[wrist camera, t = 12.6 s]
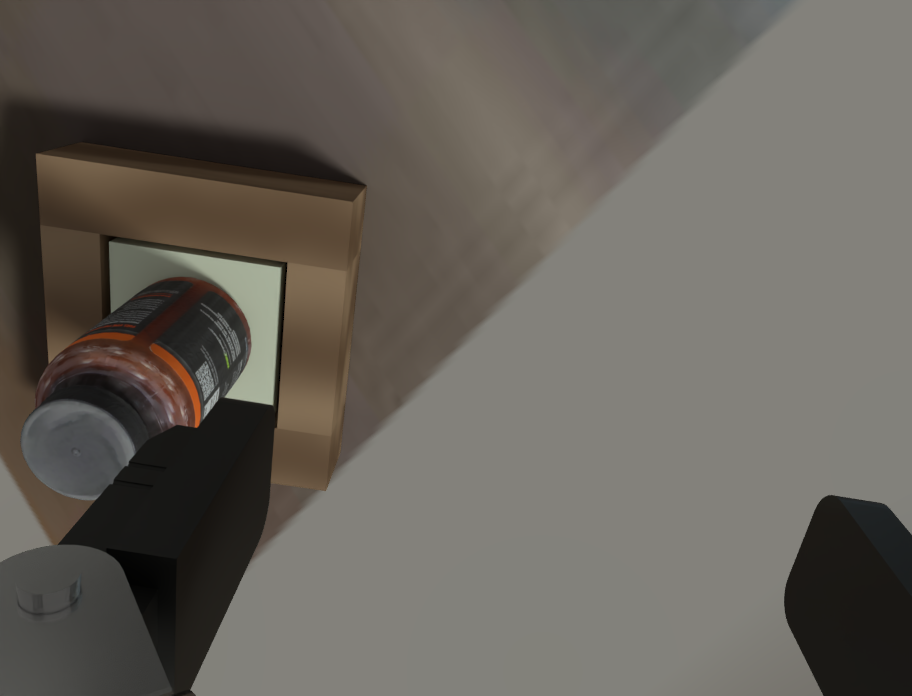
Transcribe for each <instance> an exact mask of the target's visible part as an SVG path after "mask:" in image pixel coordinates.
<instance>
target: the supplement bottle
mask: <svg viewBox="0 0 912 696" xmlns="http://www.w3.org/2000/svg"><path fill="white" fill-rule="evenodd" d="M251 347H252V344H251V333H250V327H249V325H248V322H247V319H246V317H245V315H244V313H243V312H242V310H241V309H240V308H239V306H238V305H237V303H236V302H235V301H234V300H233V299H232V298H231V297H230V296H229V295H228V294H227V293H225V292H224V291H223V290H221V289H220V288H218V287H216V286H214V285H212V284H210V283H208V282H206V281H203V280H199V279H196V278H192V277H172V278H167V279H163V280H160V281H157V282H155V283H153V284H151V285H149V286H148V287H146V288H145V289H143V290H141V291H140V292H138V293H137V294H136V295H135V296H133V297H132V298H131V299H129V300H128V301H127V302H126V303H124V304H123V305H122V306H120V307H119V308H118V309H116V310H115V311H114V312H112V313H111V314H110V315H108V316H107V317H106V318H105V319H103V320H102V321H101V322H99V323H98V324H97V325H95V326H94V327H93V328H91V329H90V330H89V331H87V332H86V333H85V334H83V335H82V336H81V337H79V338H78V339H77V340H75V341H74V342H73V343H72V344H71V345H69V346H68V347H67V348H65V349H64V350H63V351H61V352H60V353H59V354H58V355H57V356H56V357H55V358H54V359H53V360H52V361H51V362H50V363H49V364H48V366H47V367H46V369H45V370H44V372H43V374H42V376H41V378H40V380H39V383H38V386H37V389H36V394H35V410H34V411H33V412H32V413H31V414H30V415H29V416H28V418H27V419H26V421H25V423H24V426H23V429H22V431H21V441H20V442H21V448H22V452H23V456H24V459H25V460H26V462H27V464H28V466H29V467H30V469H31V470H32V472H33V473H34V474H35V476H36V477H37V478H38V479H39V480H40V481H42V482H43V483H44V484H45V485H47V486H48V487H49V488H51V489H53V490H54V491H56V492H58V493H60V494H63V495H65V496H68V497H71V498H76V499H80V500H96V499H97V498H98V497H99V496H100V495H101V493H102V492H103V491H104V490H105V489H106V488H107V486H108V485H109V484H113V480H114V478H115V477H116V476H117V475H118V474H119V472H120V471H121V470H122V469H123V468H124V467H125V466H128V464H129V461H130V459H131V458H132V457H133V456H134V455H135V454H136V452H137V451H138V450H139V449H140V448H141V447H142V445H143V444H144V443H145V442H146V441H147V440H149V439H150V438H152V437H154V436H156V435H158V434H160V433H162V432H164V431H166V430H168V429H170V428H171V427H173V426H175V425H183V426H189V427H195V428H197V427H198V426H199V424H200V423H201V422H202V421H203V419H204V418H205V417H206V415H207V414H208V413H209V411H210V410H211V409H212V407H213V406H214V405H215V403H216V402H217V401H218V400H219V399H220V398H221V397H225V396H226V395H227V393H228V392H229V391H230V389H231V388H232V386H233V385H234V384H235V382H236V381H237V380H238V378H239V377H240V375H241V373H242V372H243V370H244V369H245V366H246V365H247V362H248V360H249V356H250V353H251Z"/></svg>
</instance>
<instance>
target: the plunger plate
mask: <svg viewBox="0 0 912 696" xmlns="http://www.w3.org/2000/svg"><path fill="white" fill-rule="evenodd" d="M109 260H110V297H111V313H112V312H114V311H115V310H116V309H118V308H119V307H120V306H122V305H123V304H124V303H126V302H127V301H128V300H129V299H131V298H132V297H133V296H135V295H136V294H137V293H138V292H140V291H141V290H143V289H145V288H146V287H148V286H149V285H151V284H153V283H155V282H157V281H160V280H163V279H167V278H172V277H192V278H196V279H199V280H203V281H206V282H208V283H210V284H212V285H214V286H216V287H218V288H220V289H221V290H223V291H224V292H225V293H227V294H228V295H229V296H230V297H231V298H232V299H233V300H234V301H235V302H236V303H237V305H238V306H239V308H240V309H241V310H242V312H243V313H244V315H245V317H246V319H247V322H248V325H249V327H250V333H251V344H252V347H251V353H250V356H249V360H248V362H247V365H246V366H245V369H244V370H243V372H242V373H241V375H240V377H239V378H238V380H237V381H236V382H235V384H234V385H233V386H232V388H231V389H230V391H229V392H228V393H227V395H226V396H225V398H231V399H238V400H244V401H250V402H256V403H263V404H269V405H273V406H274V409H275V413H276V411H277V397H278V381H279V365H280V349H281V333H282V317H283V300H284V284H285V268H286V262H281V261H275V260H268V259H261V258H255V257H248V256H242V255H235V254H228V253H222V252H215V251H209V250H202V249H195V248H189V247H182V246H176V245H169V244H162V243H156V242H149V241H143V240H136V239H129V238H123V237H117V238H115V239H113V240H111V241H109Z"/></svg>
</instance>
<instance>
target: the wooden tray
mask: <svg viewBox="0 0 912 696" xmlns="http://www.w3.org/2000/svg"><path fill="white" fill-rule="evenodd" d="M36 165H37V182H38V198H39V214H40V230H41V247H42V263H43V279H44V295H45V312H46V328H47V344H48V360H49V363H50V362H51V361H52V360H53V359H54V358H55V357H56V356H57V355H58V354H59V353H60V352H61V351H63V350H64V349H65V348H67V347H68V346H69V345H71V344H72V343H73V342H74V341H75V340H77V339H78V338H79V337H81V336H82V335H83V334H85V333H86V332H87V331H89V330H90V329H91V328H93V327H94V326H95V325H97V324H98V323H99V322H101V321H102V320H103V319H105V318H106V317H107V316H108V315H110V314H111V297H110V260H109V241H111V240H113V239H115V238H117V237H123V238H129V239H136V240H143V241H149V242H156V243H162V244H169V245H176V246H182V247H189V248H195V249H202V250H209V251H215V252H222V253H228V254H235V255H242V256H248V257H255V258H261V259H268V260H275V261H281V262H288V264H287V280H286V296H285V312H284V328H283V343H282V359H281V375H280V391H278V397H277V411H276V413H275V430H274V444H273V458H272V471H271V483H275V484H282V485H289V486H296V487H302V488H309V489H316V490H323V491H326V489H327V487H328V484H329V481H330V479H331V476H332V473H333V471H334V468H335V465H336V463H337V460H338V457H339V454H340V451H341V441H342V431H343V421H344V411H345V401H346V390H347V380H348V370H349V360H350V350H351V340H352V330H353V320H354V310H355V300H356V290H357V280H358V270H359V260H360V249H361V239H362V229H363V219H364V209H365V199H366V189H367V186H365V185H359V184H352V183H346V182H339V181H333V180H326V179H320V178H313V177H306V176H300V175H293V174H287V173H280V172H274V171H267V170H261V169H254V168H248V167H241V166H234V165H228V164H221V163H215V162H208V161H202V160H195V159H189V158H182V157H176V156H169V155H162V154H156V153H149V152H143V151H136V150H130V149H123V148H117V147H110V146H104V145H97V144H90V143H84V142H79V143H76V144H72V145H68V146H64V147H60V148H56V149H52V150H48V151H44V152H40V153H36Z"/></svg>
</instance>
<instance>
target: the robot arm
mask: <svg viewBox="0 0 912 696" xmlns="http://www.w3.org/2000/svg"><path fill="white" fill-rule="evenodd" d="M274 430H275V409H274V406H273V405H269V404H263V403H256V402H250V401H244V400H238V399H231V398H225V397H221V398H220V399H219V400H218V401H217V402H216V403H215V405H214V406H213V407H212V409H211V410H210V411H209V413H208V414H207V415H206V417H205V418H204V419H203V421H202V422H201V423H200V424H199V426H198V427H197V428H195V427H189V426H183V425H175V426H173V427H171V428H170V429H168V430H166V431H164V432H162V433H160V434H158V435H156V436H154V437H152V438H150V439H149V440H147V441H146V442H145V443H144V444H143V445H142V447H141V448H140V449H139V450H138V451H137V452H136V454H135V455H134V456H133V457H132V458H131V459H130V461H129V464H128V466H125V467H124V468H123V469H122V470H121V471H120V472H119V474H118V475H117V476H116V477H115V478H114V480H113V484H109V485H108V486H107V488H106V489H105V490H104V491H103V492H102V493H101V495H100V496H99V497H98V498H97V499H96V500H95V502H94V503H93V504H92V505H91V506H90V508H89V509H88V510H87V511H86V512H85V513H84V515H83V516H82V517H81V518H80V519H79V520H78V522H77V523H76V524H75V525H74V526H73V527H72V529H71V530H70V531H69V532H68V533H67V534H66V536H65V537H64V538H63V539H62V540H61V541H60V543H59V544H58V545H53V546H46V547H40V548H36V549H33V550H29V551H25V552H22V553H20V554H17V555H15V556H12V557H10V558H8V559H6V560H4V561H2V562H0V696H196V695H195V694H194V693H193V692H192V691H190V689H191V687H192V685H193V683H194V681H195V678H196V676H197V674H198V672H199V670H200V668H201V665H202V663H203V661H204V659H205V657H206V654H207V652H208V650H209V648H210V646H211V644H212V642H213V640H214V637H215V635H216V633H217V631H218V629H219V627H220V624H221V622H222V620H223V618H224V616H225V614H226V612H227V609H228V607H229V605H230V603H231V601H232V599H233V596H234V594H235V592H236V590H237V588H238V585H239V583H240V581H241V579H242V577H243V575H244V573H245V571H246V568H247V566H248V564H249V562H250V560H251V558H252V555H253V553H254V551H255V549H256V547H257V545H258V542H259V540H260V538H261V535H262V532H263V529H264V525H265V521H266V517H267V512H268V506H269V498H270V485H271V471H272V458H273V444H274ZM784 606H785V614H786V619H787V622H788V625H789V627H790V629H791V631H792V633H793V635H794V637H795V639H796V641H797V643H798V645H799V647H800V649H801V651H802V653H803V655H804V657H805V659H806V661H807V663H808V665H809V667H810V669H811V671H812V673H813V675H814V677H815V679H816V681H817V683H818V685H819V687H820V689H821V692H822V693H823V696H912V535H911V534H910V532H909V531H908V530H907V529H906V528H905V526H904V525H903V524H902V523H901V522H900V521H899V519H898V518H897V517H896V516H895V514H894V513H893V512H892V511H891V510H890V509H889V508H888V507H887V506H886V505H885V504H882V503H877V502H871V501H865V500H859V499H852V498H846V497H840V496H833V495H828V496H826V497H824V498H823V499H822V500H821V501H820V502H819V504H818V505H817V507H816V509H815V511H814V514H813V516H812V519H811V522H810V524H809V526H808V529H807V532H806V534H805V537H804V539H803V542H802V544H801V547H800V549H799V552H798V554H797V557H796V559H795V562H794V565H793V567H792V569H791V572H790V575H789V577H788V580H787V583H786V588H785V596H784Z"/></svg>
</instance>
